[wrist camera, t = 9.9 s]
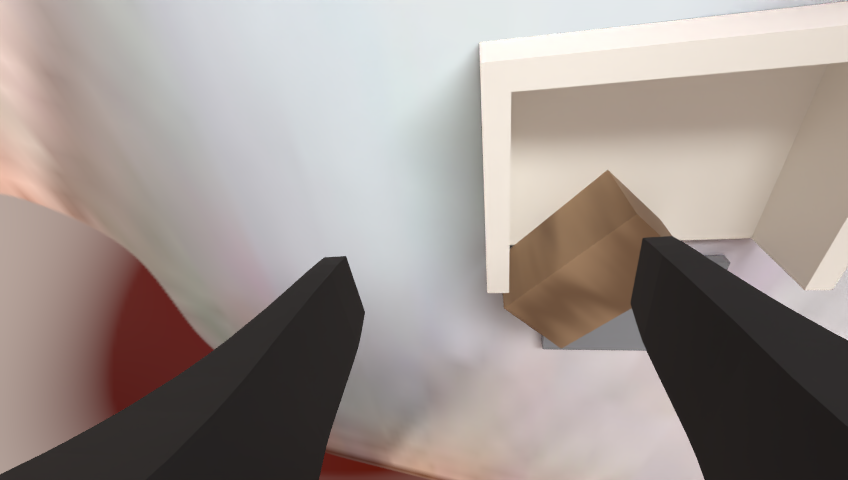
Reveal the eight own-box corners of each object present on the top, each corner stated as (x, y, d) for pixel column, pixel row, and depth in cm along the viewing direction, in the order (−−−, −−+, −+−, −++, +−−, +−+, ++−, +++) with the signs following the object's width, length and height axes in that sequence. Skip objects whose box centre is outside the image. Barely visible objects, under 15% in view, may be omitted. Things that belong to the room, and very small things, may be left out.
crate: (873, -2, 14) (1013, 7, 10) (766, 230, 19) (832, 289, 16) (479, 42, 16) (479, 62, 12) (485, 239, 22) (487, 293, 18)
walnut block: (697, 270, 16) (561, 348, 19) (659, 218, 19) (549, 294, 23) (636, 213, 15) (503, 308, 18) (607, 169, 18) (499, 256, 21)
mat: (724, 255, 20) (730, 262, 20) (688, 343, 24) (692, 351, 24) (548, 259, 22) (550, 266, 21) (541, 341, 26) (542, 349, 25)
